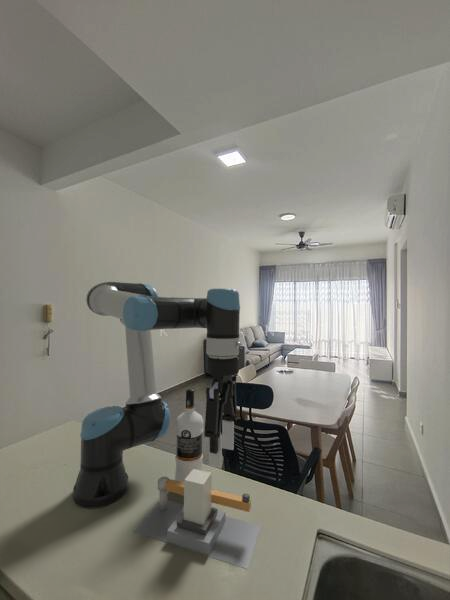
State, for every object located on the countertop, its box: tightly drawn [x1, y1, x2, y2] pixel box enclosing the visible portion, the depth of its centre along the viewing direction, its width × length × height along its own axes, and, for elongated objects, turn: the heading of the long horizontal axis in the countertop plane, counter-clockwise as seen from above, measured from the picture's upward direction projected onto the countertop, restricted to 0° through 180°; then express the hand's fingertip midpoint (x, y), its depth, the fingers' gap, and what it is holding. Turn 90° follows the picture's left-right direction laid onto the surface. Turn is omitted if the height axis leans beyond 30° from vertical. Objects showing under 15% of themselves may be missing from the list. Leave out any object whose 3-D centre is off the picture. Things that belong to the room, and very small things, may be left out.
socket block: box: [133, 491, 262, 570], centre depth 69 cm, size 28×12×6 cm, turn 70°
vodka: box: [173, 388, 204, 497], centre depth 86 cm, size 9×9×30 cm
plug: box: [177, 469, 219, 535], centre depth 69 cm, size 7×7×13 cm
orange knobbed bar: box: [157, 476, 252, 513], centre depth 73 cm, size 26×3×3 cm, turn 70°
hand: (221, 456), depth 64 cm, fingers open, 8 cm apart
